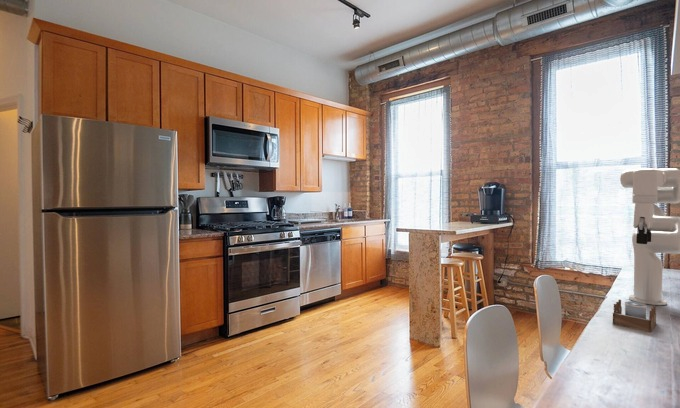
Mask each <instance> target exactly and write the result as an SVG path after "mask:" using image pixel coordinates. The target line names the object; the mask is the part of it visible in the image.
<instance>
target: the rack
mask: <svg viewBox="0 0 680 408" xmlns="http://www.w3.org/2000/svg"><path fill="white" fill-rule="evenodd" d="M622 309H623V307H622V300H621V299H618V301H615V303H613V312H612V325H615V326H620V327H625V328H630V329H634V330H638V331H643V332H648V333H652V332H653V330H654V328H655V326H656V325H657V305H652V307H651V308H650V310H649V312H648V313H649V314H648V319H647V318H646V319H643V318H638V317H632V316H627V315H625V314H622V311H623V310H622Z"/></svg>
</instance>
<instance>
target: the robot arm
mask: <svg viewBox="0 0 680 408" xmlns="http://www.w3.org/2000/svg"><path fill="white" fill-rule="evenodd" d="M619 179H620V184H621V186H622V187H623V188H625V189H626V188H627V189H628V188H629V189H632V204H635V205H634V211H633V226H632V227H633V228H634V229H637V230H636V231H635V232H634V233H633V234H632V237H631V242H632V247H633V248H632V249H633V263H634V265H633V294H631V295H629V297H628V298H629V300H630V301H631V302H639V303H643V304H645V305H652V306H666V305H667V304H668V301H667V300H665V299H663V272H664V271H663V268H664V267H663V266H664V265H663V262H662V260H661V258H660V257H659V256H658V255H657V254H658V253H659V254H669V255H679V254H680V216H677V215H675V216H674V215H665V212H664V210H663V209H662V208H660V206H658V205H657V204H679V203H680V169H679V168H675V167H673V168H672V167H671V168H639V169H626V170H624V171H622V173H621V174H620V178H619Z"/></svg>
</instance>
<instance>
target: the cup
mask: <svg viewBox="0 0 680 408" xmlns="http://www.w3.org/2000/svg"><path fill="white" fill-rule="evenodd" d="M624 315H627V316H632V317H638V318H643V319H647V304H644V303H639V302H635V301H632V300H630V301H625V302H624Z"/></svg>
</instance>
